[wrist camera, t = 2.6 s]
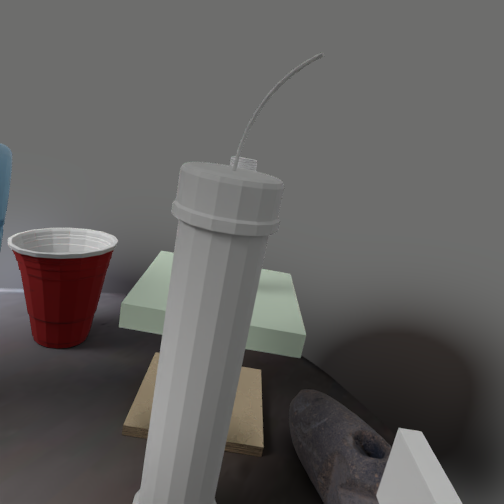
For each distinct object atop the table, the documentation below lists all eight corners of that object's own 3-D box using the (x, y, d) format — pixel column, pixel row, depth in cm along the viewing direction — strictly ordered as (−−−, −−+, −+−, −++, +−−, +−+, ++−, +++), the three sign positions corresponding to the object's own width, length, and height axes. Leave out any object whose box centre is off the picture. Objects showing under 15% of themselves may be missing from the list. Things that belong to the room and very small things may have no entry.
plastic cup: (40, 307, 53) (45, 216, 50) (122, 324, 53) (132, 234, 50) (-20, 348, 43) (-19, 237, 39) (81, 370, 42) (91, 260, 39)
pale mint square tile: (300, 358, 32) (306, 335, 31) (118, 327, 31) (121, 303, 31) (286, 291, 45) (290, 273, 45) (159, 268, 45) (161, 250, 44)
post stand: (261, 456, 36) (326, 180, 29) (122, 434, 35) (156, 147, 29) (259, 377, 47) (306, 166, 41) (154, 359, 47) (184, 142, 40)
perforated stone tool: (265, 428, 39) (280, 365, 38) (312, 422, 42) (329, 362, 40) (360, 593, 26) (390, 508, 24) (421, 572, 29) (453, 492, 27)
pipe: (168, 487, 31) (240, 57, 23) (236, 541, 28) (347, 67, 20) (107, 540, 26) (169, 25, 18) (180, 611, 23) (294, 31, 15)
